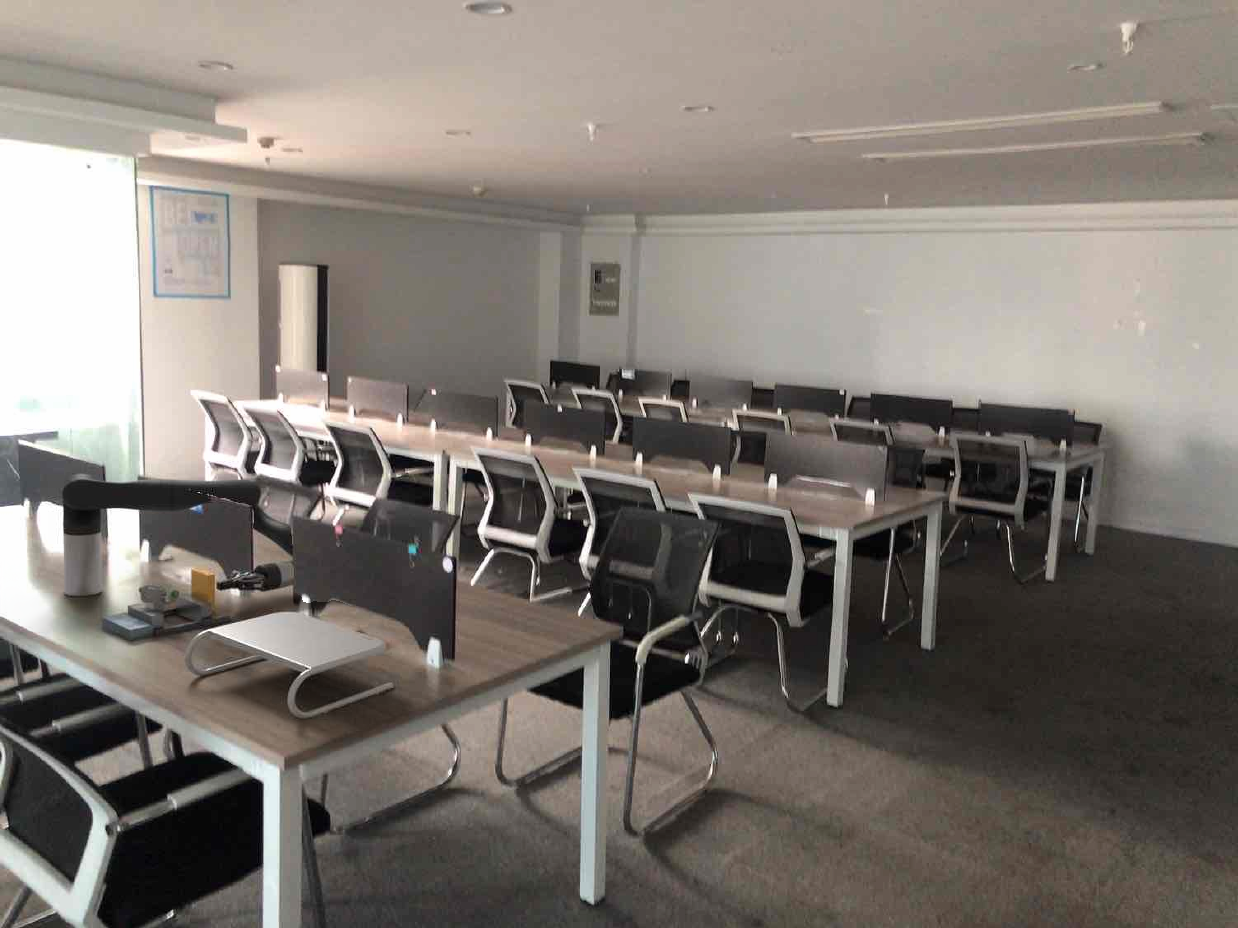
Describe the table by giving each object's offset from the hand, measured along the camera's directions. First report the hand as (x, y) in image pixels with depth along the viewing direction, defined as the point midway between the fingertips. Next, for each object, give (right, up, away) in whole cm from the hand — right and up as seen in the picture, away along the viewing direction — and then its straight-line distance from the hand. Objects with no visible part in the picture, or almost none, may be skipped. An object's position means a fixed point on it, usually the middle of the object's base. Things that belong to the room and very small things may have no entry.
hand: (217, 586), depth 265 cm
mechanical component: (-11, -9, -11) cm, 18 cm away
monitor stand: (+34, -17, -44) cm, 58 cm away
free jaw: (-4, -8, -3) cm, 9 cm away
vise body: (-9, -9, -9) cm, 16 cm away
